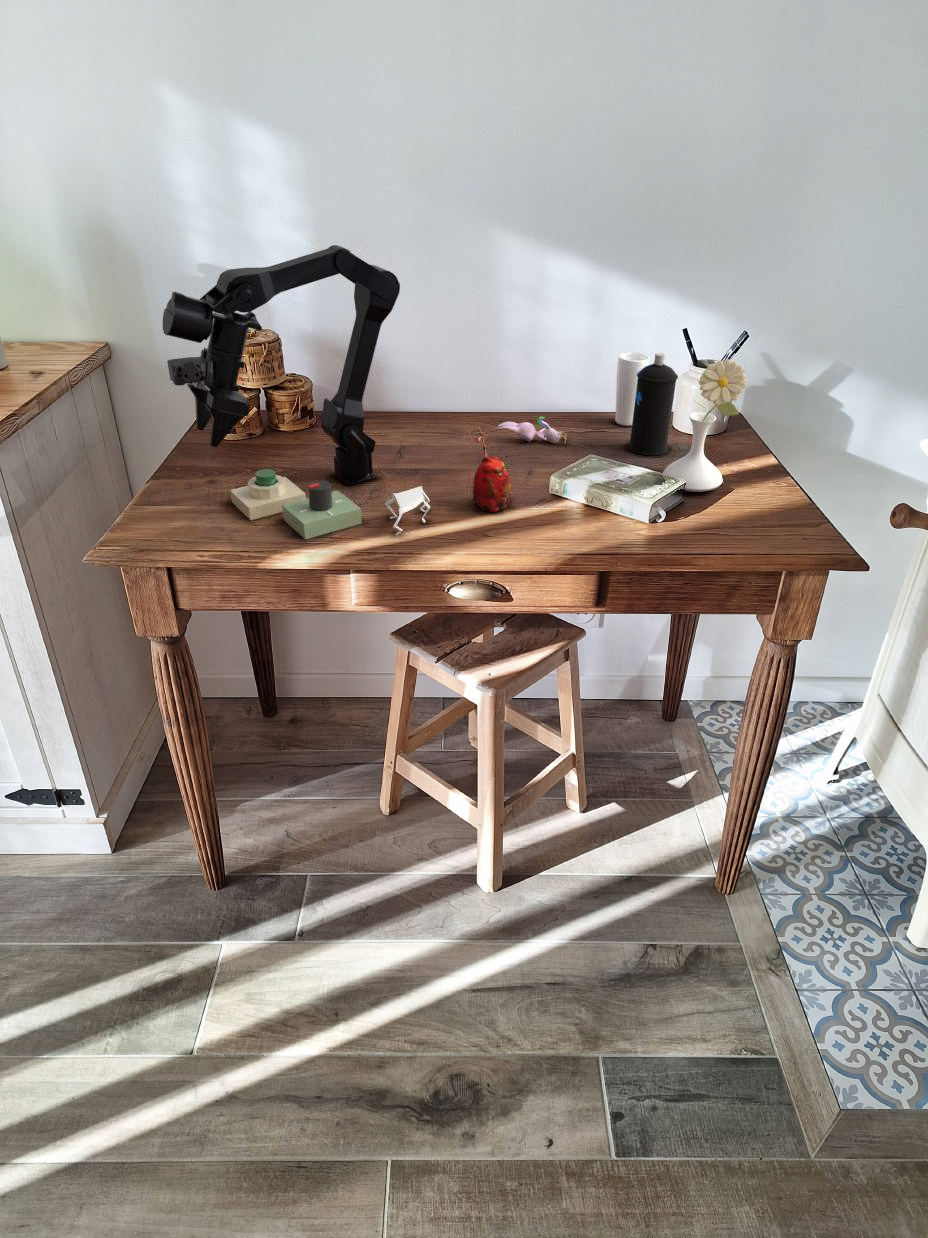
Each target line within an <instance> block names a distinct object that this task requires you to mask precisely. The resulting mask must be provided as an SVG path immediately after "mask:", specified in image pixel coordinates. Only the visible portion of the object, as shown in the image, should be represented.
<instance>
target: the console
mask: <svg viewBox="0 0 928 1238" xmlns="http://www.w3.org/2000/svg"><path fill="white" fill-rule="evenodd" d="M331 493H332V504H333V506H332V508H330V509H329V510H325V511H314V510H312V509H311V508H310V505H309V497H306V499H302V500H298V501H295V502H291V503H287V504H283V505H282V510H283V512H282V518H283V521H284V522H285V523H286V524H288V525H289V526H290V527H291V528H292V529H293V530H294V531H295V532H296V533H297V534H299V536H301V537H302V538H303V539H304V540H309V539H311V538H315V537H319V536H323V535H326V534H329V533H330V534H331V533H332V532H337V531H341V530H343V529H347V528H350V527H354V526H358V525H361V524H363V519H362V508H361V507H359V505H357V504H356V503H355V502H353V501H352V500H351V499H349V498H348V497H347V496H346V495H344V494H343V493H341V492H340V490H333V491H331Z"/></svg>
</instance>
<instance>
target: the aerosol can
mask: <svg viewBox="0 0 928 1238" xmlns="http://www.w3.org/2000/svg"><path fill="white" fill-rule="evenodd" d="M665 360H666V354H665V353H663V352H656V353H655V354H654V361H653V363H649V365H648V366H645V367H644V368H643V369H641V371H639V372H638V373H637V377H638V380H637V389H636V397H635V405H634V414H633V422H632V426H631V430H630V432H631V433H630V441H629V443H628V446H627V447H628V449H629V451H630V452H633V453H634V454H637V455H640V456H646V457H647V456H649V457H656V456H661V455H664V454H665V453H667V452H668V440H669V433H670V426H671V418H672V412H673V406H674V398H675V391H676V386H677V380H678V379H679V375H678V374H677V373H676V371H675V370H674V368H672V367H671V366H668V365H666V364H665Z"/></svg>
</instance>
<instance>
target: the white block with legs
mask: <svg viewBox="0 0 928 1238" xmlns="http://www.w3.org/2000/svg"><path fill="white" fill-rule="evenodd" d="M430 502H431V500H430V498H429V496H427V494H426V492H425V491H424V490H423V485H420V486H417V487H413V488H411V489H408V490H404V491H401V492H397V493H393V492H392V497H391V498H389V499H388V500H386V502H384V506H385V507H386V508H387V509H388V510H389V511H390V512H391V514H392V516H389V519H390V520H393V519H396V520H395V522H394V524H393V526H392V528H394V529H395V530H398V531H397V532H395V534H394V535H395V536H399V535H400V533H402V532H403V529H402V528H401V527H399V526H398V524H399V522H400V520H401V518H402V516H403V514H405V513H406V512H409V511H411V510H414V509H415V508H416V507H419V505H420V504H421V503H423V504H422V505H421V507H420V508H419V510H420V511H421V512H423V515H422V517H421V520H422V522H423V523H426V520H425V518H424V517H426V514H427V513H428V512H429V510H430V509H431V506H430V505H429V503H430ZM394 503H396V504H397V506H398V512H399V515H397V514H396V513H395V511H394V510H393V509H392V507H391V506H390V505H392V504H394ZM424 507H427V508H426V509H423V508H424Z"/></svg>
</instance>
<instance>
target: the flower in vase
mask: <svg viewBox="0 0 928 1238" xmlns="http://www.w3.org/2000/svg"><path fill="white" fill-rule="evenodd" d="M745 372H746V370H745V368H743V366H742V365H739V364H738V363H737V362H736V361H732V360H730V359H728V358H727V359H725V360H718V361H717V362H714V363H709V364H708V366H707V367H706V368H705V369H704V370H703V373H702V374H701V376H699V381H698V385H700V386H699V390H700V391H701V393H700V395H701V397H703V398H704V399H706V400H707V401H708V402H712V403H713V404H714V405H713V406H712V407H711V409H708V407H707V406H706V405H704V404H703V403H701V402H700V401H697V400H696V399H695V398H694V397H693V396H691V398H692V399H693V401H694V402H695V403H696V404H697V405H699V406H701V407H702V408H704V409H706V410H707V411H708V412H705V411H703V412H702V411H697V412H691V413H689V414H688V418H689V420H690V422H691V425H692V439H691V440H692V441H691V445H690V449H689V451H688V453H687V454H686V455H684V456H682V457H681V458H678V459H677V460H675V461H673V462H672V463H669V464H668V465H667V466H666V467H665V468H664V470H663V472H662V474H666V475H669V476H673V477H678V478H681V479H684V480H685V481H686V485H685V490H684V491H685V492H690V493H691V492H692V493H702V492H703V493H704V492H710V491H713V490H716V489H717V488H719V487H720V486H721V485H722V483H723V482H724V480H723V476H722V473H721V472H720V470H719V469H718V468H717V467H716V465H714V464H713V463H712V462H711V461H710V460H709V459H708V458H707V457H706V455H705V452H704V449H705V448H704V447H705V441H706V437H707V433H708V431H709V429H710V427H711V426H712V424H713V423H714V422H716V420H717V416H716V415H714V414H712V413H711V412H713V411H714V410H715V409H716V407H717V409H718V411H719V413H720V414H721V415H722V416H724V417H728V416H737V415H740V412H739V410H738V409H737V407H736V406H735V404H734V403H733V401H737V400H738V398H740V395H741V394H742V393H743V392H744V390H745V388H746V387H747V385H748V380H747V379H746V378H747V375H746V374H745Z"/></svg>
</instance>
